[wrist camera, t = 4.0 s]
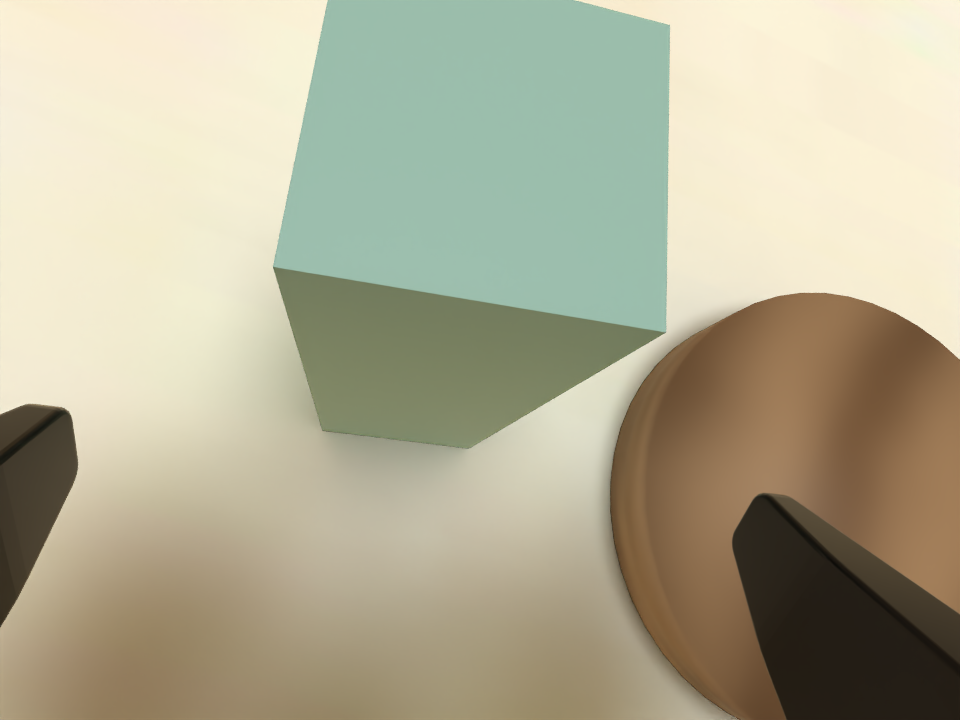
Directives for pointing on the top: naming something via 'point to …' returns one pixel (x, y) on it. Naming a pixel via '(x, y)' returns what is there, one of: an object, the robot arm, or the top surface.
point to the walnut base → (782, 469)
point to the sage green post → (474, 210)
